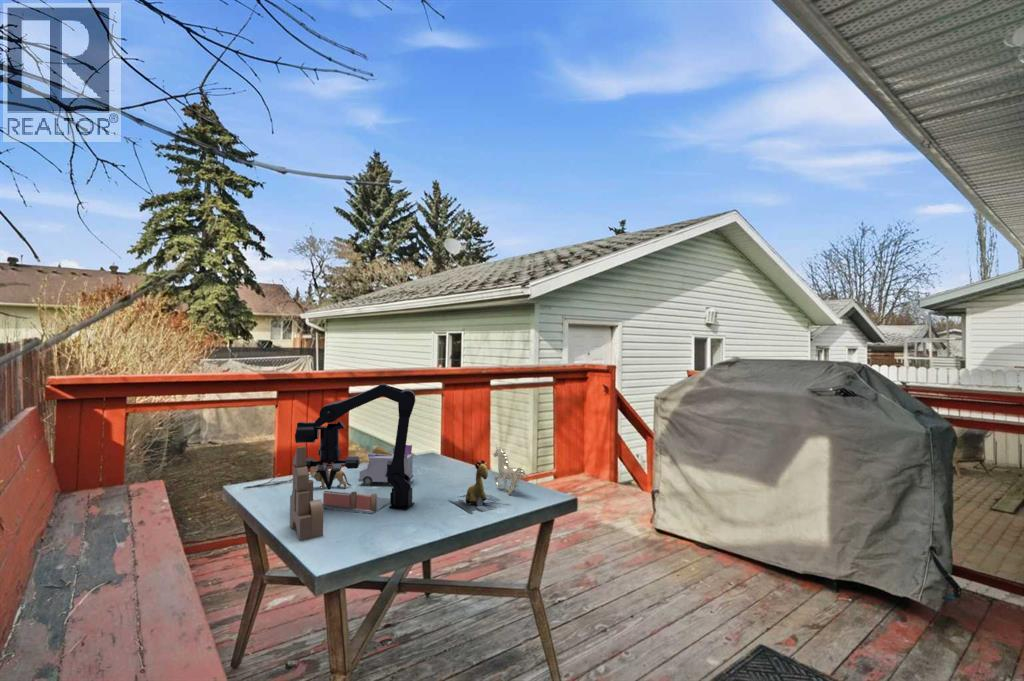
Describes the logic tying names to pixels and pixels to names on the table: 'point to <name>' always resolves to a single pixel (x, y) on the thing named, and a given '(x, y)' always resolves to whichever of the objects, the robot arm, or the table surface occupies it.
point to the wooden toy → (304, 501)
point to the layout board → (380, 503)
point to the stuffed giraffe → (478, 493)
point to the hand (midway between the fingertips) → (329, 489)
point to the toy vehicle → (383, 465)
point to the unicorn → (507, 471)
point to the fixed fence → (363, 501)
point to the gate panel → (337, 498)
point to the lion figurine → (338, 476)
